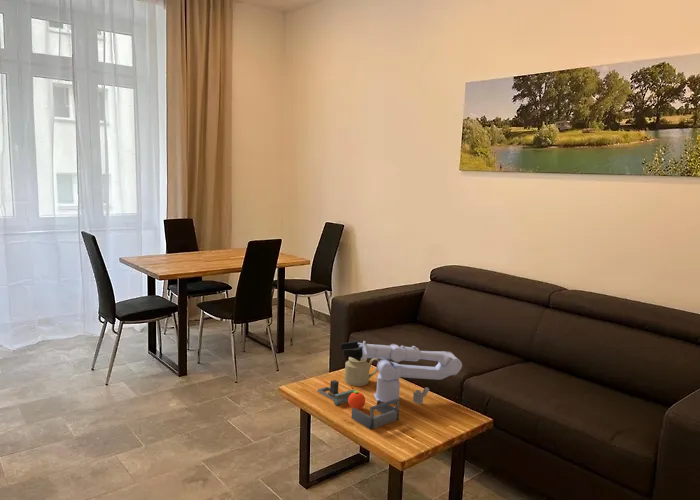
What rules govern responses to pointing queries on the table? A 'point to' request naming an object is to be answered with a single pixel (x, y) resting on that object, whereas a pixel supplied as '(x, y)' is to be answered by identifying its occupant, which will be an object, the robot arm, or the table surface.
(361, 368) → the beige teapot
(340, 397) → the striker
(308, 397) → the table surface
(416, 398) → the lighter
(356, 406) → the tomato
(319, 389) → the track
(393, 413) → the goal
